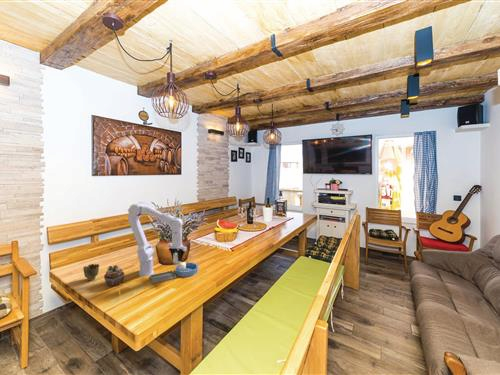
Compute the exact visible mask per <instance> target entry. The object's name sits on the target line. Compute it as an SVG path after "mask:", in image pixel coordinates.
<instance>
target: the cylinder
mask: <svg viewBox="0 0 500 375" xmlns="http://www.w3.org/2000/svg"><path fill="white" fill-rule="evenodd" d="M172 261H173V264H174V265H179V263H181V262H182V261H178V255H177V253H174V254H173V258H172Z"/></svg>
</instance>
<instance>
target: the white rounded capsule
mask: <svg viewBox="0 0 500 375" xmlns="http://www.w3.org/2000/svg"><path fill="white" fill-rule="evenodd" d="M186 263H187V262H185V261H181V263H179V264H178V265H179V270H180V271H186Z"/></svg>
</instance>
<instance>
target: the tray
mask: <svg viewBox="0 0 500 375" xmlns="http://www.w3.org/2000/svg"><path fill="white" fill-rule="evenodd" d="M177 277H178V276H177V275H176V273H175V271H173V270H169V271H168V270H167V271H163V272H159V273H154V274H152V275H149V278H150V280H151V283H152V285H155V284H159V283H160V284H161V283H163V282H164V283H165V282H169V281H173V280H175V279H177Z"/></svg>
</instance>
